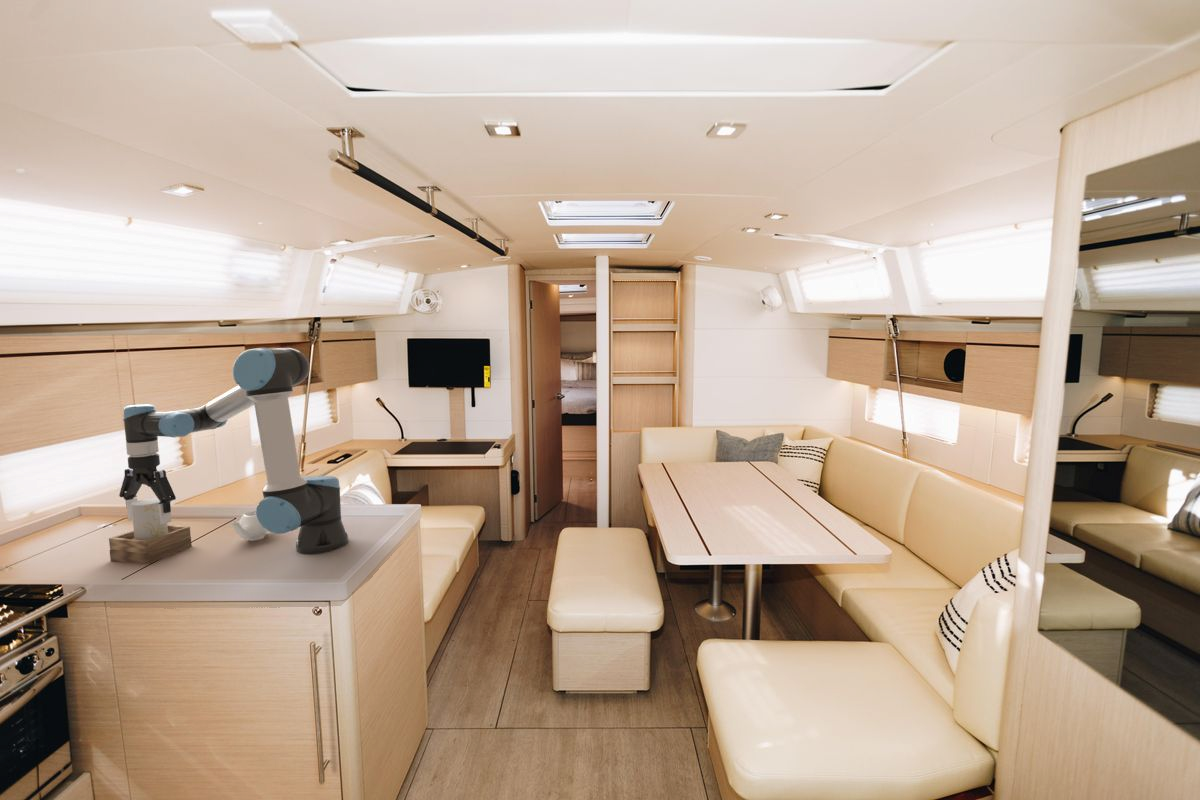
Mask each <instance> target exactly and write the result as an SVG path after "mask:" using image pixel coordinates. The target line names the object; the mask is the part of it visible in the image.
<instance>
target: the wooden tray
mask: <svg viewBox="0 0 1200 800" xmlns="http://www.w3.org/2000/svg"><path fill="white" fill-rule="evenodd" d="M167 527H168V533H167V534H164V535H161V536H158V537H155V538H152V539H149V540H147V541H143V540H135V539H134V530H131V531H127V532H124V533H121V534H119V535H116V536H111V537H109V538H108V543H109V551H110V550H119V551H128V552H137V553H149V552H151V551H154V550H157V549H160V548H162V547H165V546H168V545H171V544H173V543H176V542H179V541H182V540H184V539H187V538H190V537H191V526H187V525H178V524H177V525H175V524H167ZM191 538H192V537H191Z"/></svg>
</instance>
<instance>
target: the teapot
mask: <svg viewBox="0 0 1200 800" xmlns="http://www.w3.org/2000/svg"><path fill="white" fill-rule="evenodd" d="M231 524H232V526H233V530H234V531H235V532H236V534H237V535H238V537H240V538H241V539H244V540H248V541H254V542H255V541H259V540H262V539H264V538H265V537H266V534H267V533H268V532H269V531H268V530H267V529H266V528H264V527H263V526H262V525H261V524H260V522H259V521H258V518H257V515H256V510H252V511H247V512H245V513H244V514H242V516H241V517H240V519H239V521H238V520H237V521H233V522H231Z"/></svg>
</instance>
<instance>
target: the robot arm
mask: <svg viewBox="0 0 1200 800" xmlns="http://www.w3.org/2000/svg"><path fill="white" fill-rule="evenodd" d="M310 368H311V365H310V362H309V360H308V358H307V357H306V356H305V354H304V353H303V352H301V351H300V350H297V349H295V348H291V347H282V348H281V347H280V348H279V347H277V348H276V347H258V348H257V347H256V348H251V349H246V350H245V351H243V352H241V353H240V354H239V355H238V356H237V358H235V361H234V363H233V366H232V376H233V380H234V382H235V384H237V386H235V387H233V388H231V389H230V390H228V391H226V392H225V393H223V394H221V395H220V396H217V397H216V398H214V399H212V400H210V401H209V402H207V403H206V404H203V405H202V406H200V407H196V408H187V409H180V410H174V411H157V409H156V407H155V405H154V404H150V403H149V404H144V403H143V404H132V405H126V406H125V407H124V408H123V424H124V425H123V426H124V433H125V434H124V435H125V448H126V454H127V456H128V457H127V466H128V468H126V469H124V476H123V477H124V478H123V480H122V485H121V488H120V490H119V495H118V496H119V497H120V498H123V500H125V505H126V506H125V507H126V511H127V512H126V514H127V515H126V516H127V521H133V517H132V506H131V503H133V502H135V501H138V496H137V494H138V492H139V491H140V489H141V487H142V485H144V486H147V487H148V488H150V489H151V490H152V493H153V494H154V495H155V496H156V498H158V499H159V500H160V502H159V514H160V524H165V523H167V524H168V523H171V522H172V514H171V512H172V509H171V507H172V506H171V502H172V501H174V500H176V499H177V497H176V494H175V493H174V491H173V488H172V485H171V483H170V482H169V480H168V477H167V472H166V470H165V469H162V470H158V469H157V467H158V466H160V464H161V460H160V458H161V457H160V454H159V441H158V439H159V437H163V438H164V437H166V438H168V437H169V438H177V437H178V438H182V437H186V436H188V435H189V434H192V433H193V434H194V433H197V432H202V431H203V432H204V431H208V430H216V429H218V428H221V427H224V426H225V425H226V423H227V422H228V420H229V419H231V418H234V416H237V415H238V414H240V413H242V412H244V411H245V410H247V409H249V408H251V407H253V406H254V411H255V416H256V421H257V428H258V433H259V440H260V446H261V453H262V458H263V464H264V465H263V466H264V471H265V477H266V485H265V486H264V487H263V488H262V491H261V492H262V496H263V499H261V500H259V502H258V505H256V509H255V511H256V515H257V518H258V521H259V522H260V524H261V525H262V526H263V527H264V528H266V529H267V530H268V531H267V532H269V533H272V534H275V535H277V534H279V535H282V534H283V535H284V534H286V533H290V532H293V531H296V530H297V529H299V528H300V530H299V532H298V535H297V536H298V537H297V540H296V541H295V548H296V549H295V550H296V552H297V553H298V554H303V555H318V554H324V553H330V552H333V551H337V550H339V549H342V548H343V547H346V546H347V545H348V543H349V535H348V533H347V532H346V529H345V527H344V524H343V521H342V509H341V508H342V506H341V487H340V481H339V478H338V477H336V476H333V475H332V476H331V475H314V476H303V477H302V476H301V472H300V471H301V470H300V466H299V459H298V453H297V447H296V440H295V434H294V433H295V432H294V427H293V422H292V417H291V416H292V415H291V409H290V403H289V397H290V396H291V395H292V394H293V393H294V391H293V390H294V389H293V388H295V387H296V386H298V385H300V384H301V383H303V382H305V380H306V379H308V376H309V374H310V370H311V369H310Z"/></svg>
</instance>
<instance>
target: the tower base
mask: <svg viewBox="0 0 1200 800" xmlns="http://www.w3.org/2000/svg"><path fill="white" fill-rule="evenodd" d="M192 545H193V544H192V537H190V538H187V539H184V540H182V541H179V542H176V543H173V544H171V545H168V546H165V547H162V548H160V549H157V550H154V551H151V552H149V553H137V552H128V551H119V550H110V549H109V559H110V562H121V563H134V564H135V563H137V564H151V563H154V562H157V561H159V560H162V559H164V558H166V557H170V556H171V555H173V554H176V553H178V552H180V551H183V550H185V549H189V548H190V547H192Z"/></svg>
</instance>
